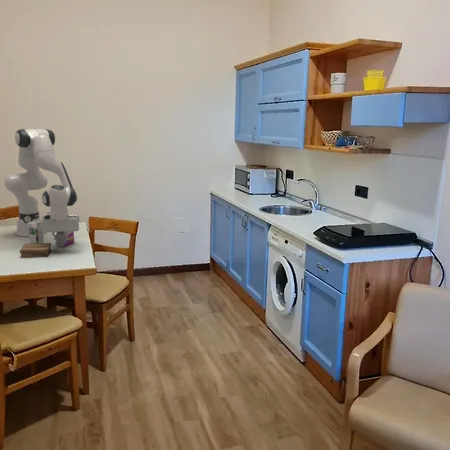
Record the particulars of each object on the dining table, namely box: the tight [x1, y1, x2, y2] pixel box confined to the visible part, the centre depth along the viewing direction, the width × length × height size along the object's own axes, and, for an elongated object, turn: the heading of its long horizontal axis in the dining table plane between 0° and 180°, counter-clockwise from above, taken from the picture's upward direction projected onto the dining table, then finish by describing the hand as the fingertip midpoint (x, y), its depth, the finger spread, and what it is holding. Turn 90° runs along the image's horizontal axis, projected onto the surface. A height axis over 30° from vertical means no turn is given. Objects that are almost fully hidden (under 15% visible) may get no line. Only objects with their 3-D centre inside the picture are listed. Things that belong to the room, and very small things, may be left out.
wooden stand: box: [19, 242, 52, 259], centre depth 260 cm, size 14×14×4 cm
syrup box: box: [28, 221, 45, 244], centre depth 273 cm, size 6×6×14 cm
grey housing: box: [55, 232, 66, 247], centre depth 263 cm, size 10×4×6 cm, turn 13°
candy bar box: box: [57, 231, 75, 248], centre depth 277 cm, size 11×5×16 cm, turn 168°
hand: (60, 239), depth 263 cm, fingers closed on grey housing, 4 cm apart
